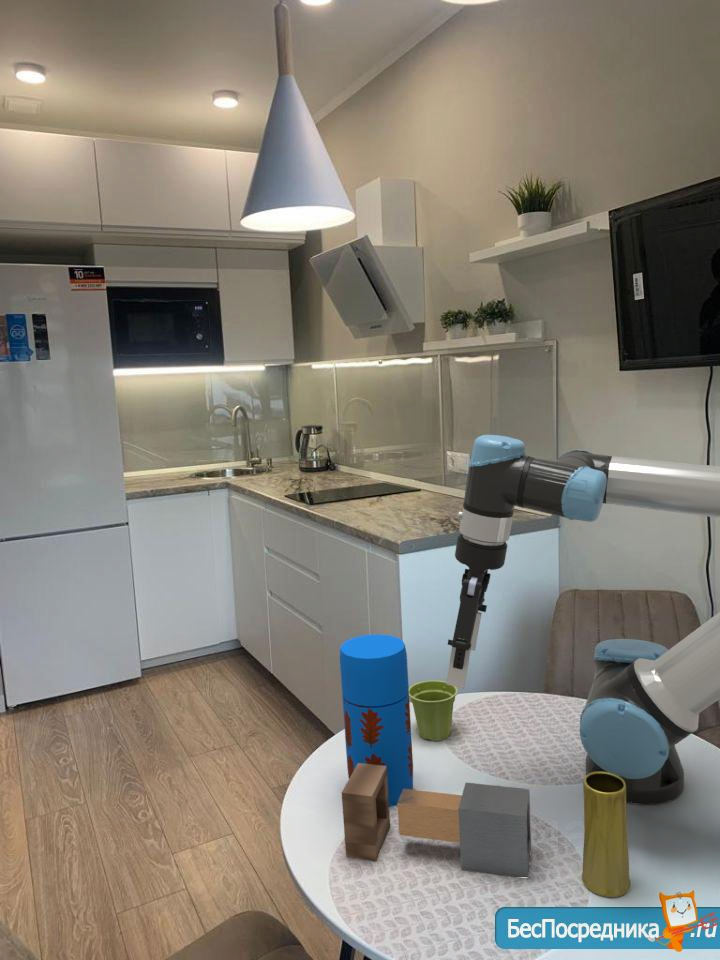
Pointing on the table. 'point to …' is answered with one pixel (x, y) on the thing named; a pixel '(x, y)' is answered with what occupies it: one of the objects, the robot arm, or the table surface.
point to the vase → (605, 835)
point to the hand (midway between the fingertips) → (461, 665)
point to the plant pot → (433, 708)
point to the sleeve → (495, 830)
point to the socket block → (366, 811)
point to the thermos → (378, 708)
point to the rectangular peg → (429, 815)
